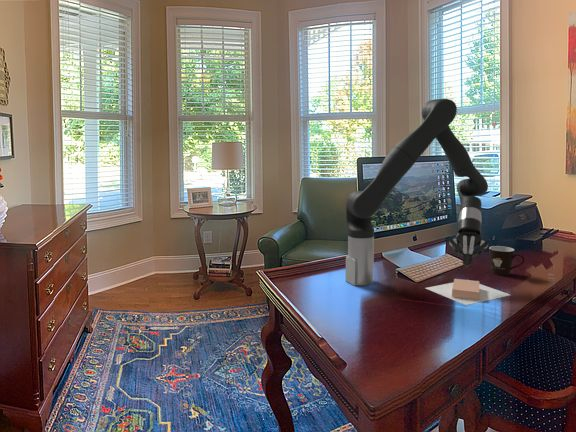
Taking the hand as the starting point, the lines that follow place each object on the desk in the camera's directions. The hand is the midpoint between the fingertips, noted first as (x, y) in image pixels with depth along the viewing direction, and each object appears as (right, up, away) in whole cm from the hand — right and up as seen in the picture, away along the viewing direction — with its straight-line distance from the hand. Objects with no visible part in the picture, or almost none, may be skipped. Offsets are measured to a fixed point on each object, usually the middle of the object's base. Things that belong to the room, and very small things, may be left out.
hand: (467, 265), depth 144 cm
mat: (+1, -9, +2) cm, 9 cm away
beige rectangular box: (+2, -7, +5) cm, 9 cm away
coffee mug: (+22, -6, +20) cm, 30 cm away
